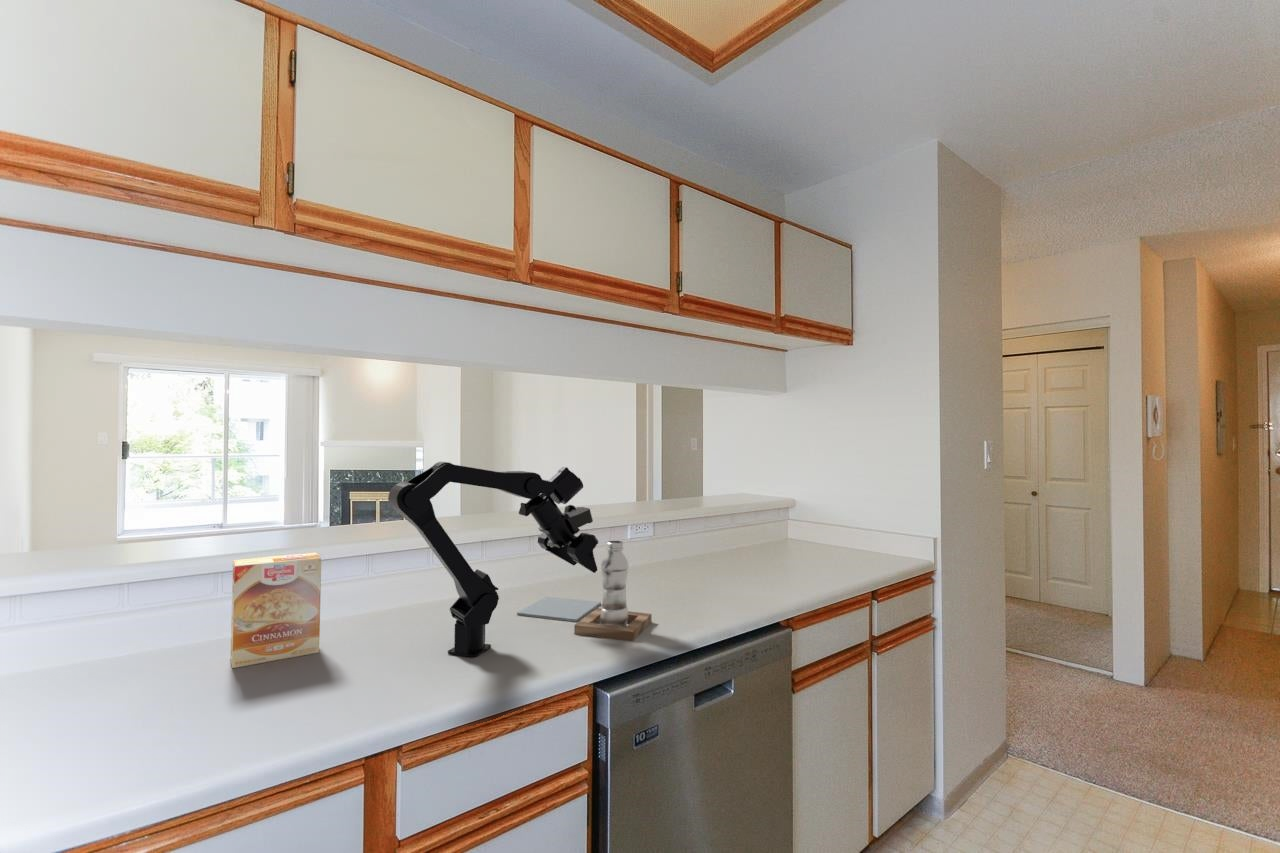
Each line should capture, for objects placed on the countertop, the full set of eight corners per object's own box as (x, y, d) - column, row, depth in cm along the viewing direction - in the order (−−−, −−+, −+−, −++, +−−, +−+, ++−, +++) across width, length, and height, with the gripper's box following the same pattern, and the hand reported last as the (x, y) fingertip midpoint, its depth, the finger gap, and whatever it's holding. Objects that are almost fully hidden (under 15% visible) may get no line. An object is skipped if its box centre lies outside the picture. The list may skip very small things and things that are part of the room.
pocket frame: (633, 640, 132) (633, 631, 132) (574, 633, 136) (574, 624, 136) (651, 622, 145) (651, 613, 145) (597, 616, 150) (597, 608, 150)
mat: (576, 621, 145) (576, 619, 145) (516, 615, 150) (516, 612, 150) (600, 604, 160) (600, 601, 160) (546, 598, 165) (546, 596, 165)
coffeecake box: (231, 669, 114) (233, 565, 114) (229, 657, 120) (231, 559, 120) (320, 653, 123) (322, 556, 123) (315, 643, 128) (316, 551, 129)
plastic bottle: (634, 627, 141) (635, 541, 141) (613, 634, 136) (615, 545, 136) (614, 621, 145) (615, 538, 146) (594, 628, 140) (595, 541, 141)
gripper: (596, 498, 132) (630, 550, 138) (555, 491, 147) (588, 538, 153) (560, 532, 127) (597, 585, 132) (521, 521, 142) (556, 569, 148)
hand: (585, 567), depth 141 cm, fingers open, 9 cm apart
